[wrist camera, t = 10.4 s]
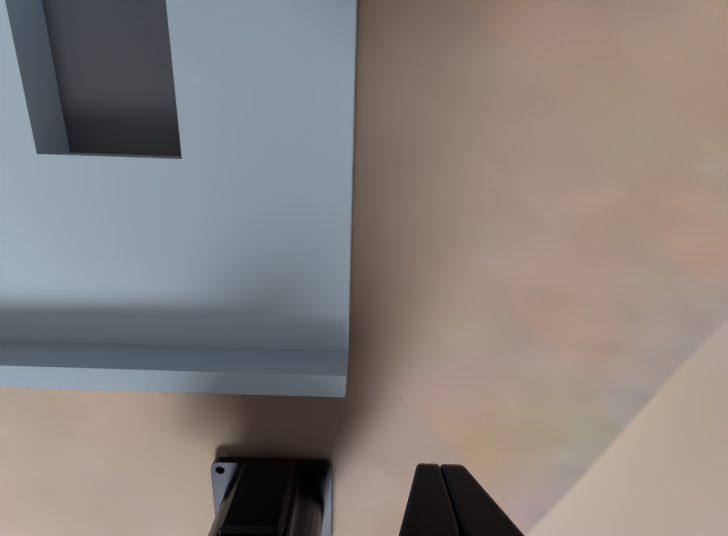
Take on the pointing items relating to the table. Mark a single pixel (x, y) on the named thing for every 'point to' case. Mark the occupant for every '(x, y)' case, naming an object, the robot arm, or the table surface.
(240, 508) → the robot arm
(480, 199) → the table surface
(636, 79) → the table surface
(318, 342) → the box
